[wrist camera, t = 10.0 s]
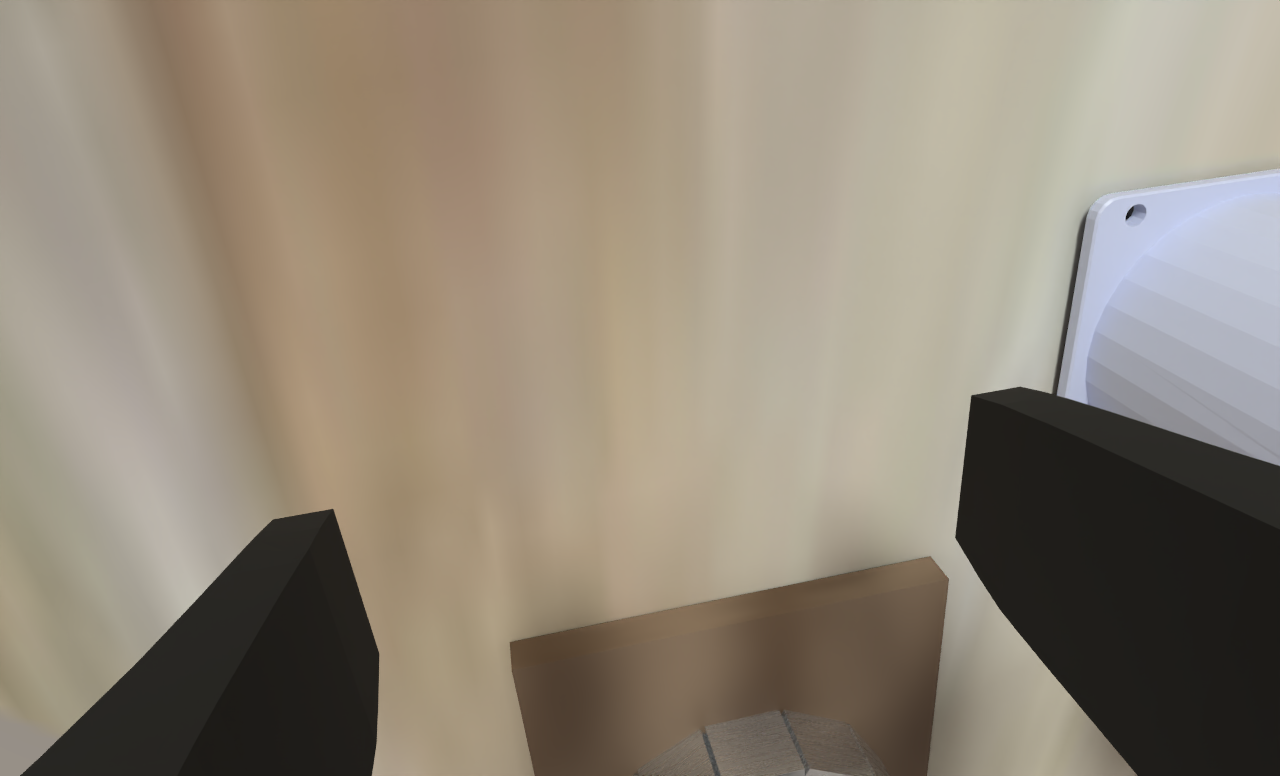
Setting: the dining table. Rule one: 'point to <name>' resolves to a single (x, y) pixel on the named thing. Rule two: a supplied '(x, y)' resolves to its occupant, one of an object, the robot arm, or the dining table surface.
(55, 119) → the dining table surface
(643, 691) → the collar board
